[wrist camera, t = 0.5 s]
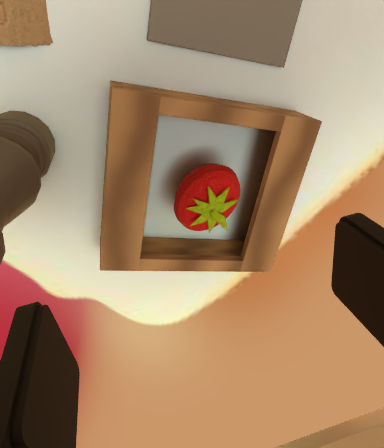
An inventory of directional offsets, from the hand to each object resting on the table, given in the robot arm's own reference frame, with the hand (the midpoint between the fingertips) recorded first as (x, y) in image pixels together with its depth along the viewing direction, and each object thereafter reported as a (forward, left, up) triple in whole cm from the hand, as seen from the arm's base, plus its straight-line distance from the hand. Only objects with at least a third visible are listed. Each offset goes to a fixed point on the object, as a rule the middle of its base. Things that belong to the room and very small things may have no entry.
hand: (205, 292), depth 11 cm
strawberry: (-8, +6, -28) cm, 29 cm away
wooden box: (-8, +6, -28) cm, 29 cm away
